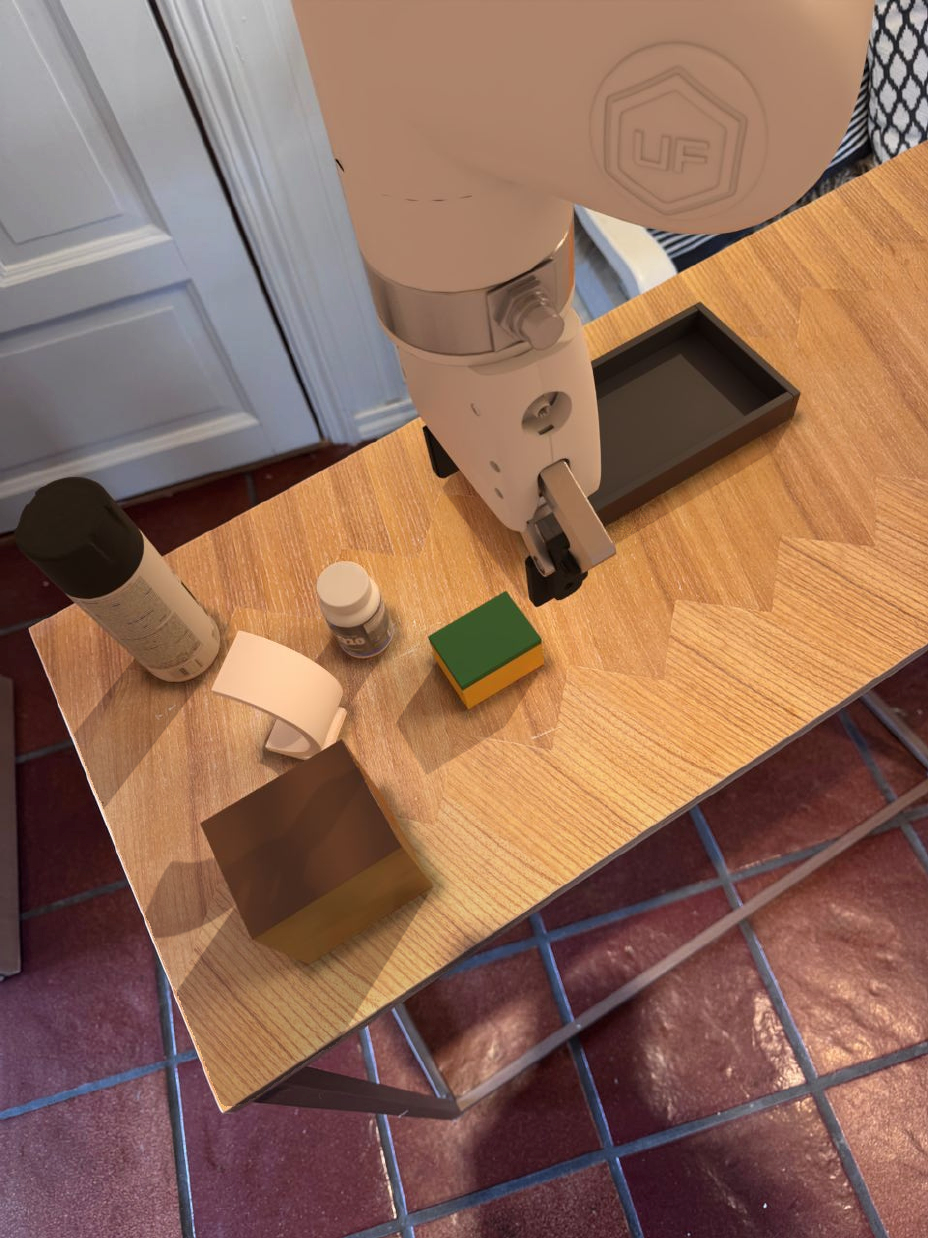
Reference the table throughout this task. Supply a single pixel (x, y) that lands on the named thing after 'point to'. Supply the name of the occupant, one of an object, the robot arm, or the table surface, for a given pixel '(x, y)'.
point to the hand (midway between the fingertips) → (507, 523)
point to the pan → (677, 409)
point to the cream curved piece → (284, 694)
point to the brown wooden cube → (314, 856)
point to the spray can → (117, 577)
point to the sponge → (487, 649)
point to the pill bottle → (354, 609)
